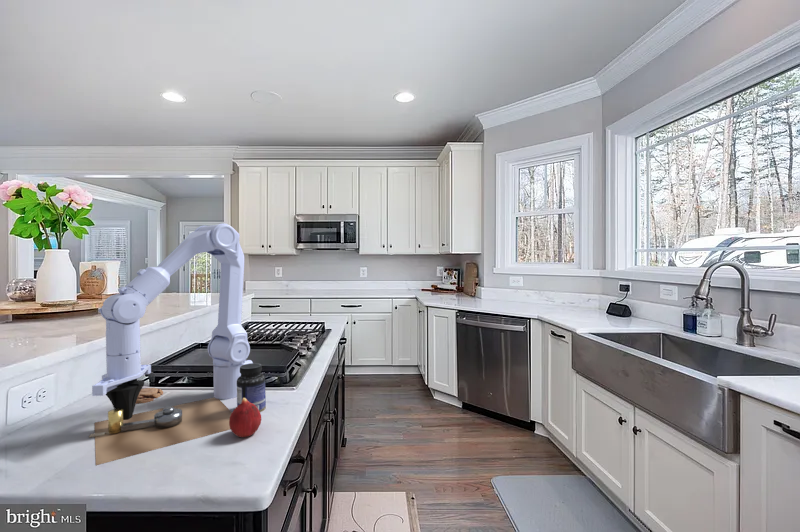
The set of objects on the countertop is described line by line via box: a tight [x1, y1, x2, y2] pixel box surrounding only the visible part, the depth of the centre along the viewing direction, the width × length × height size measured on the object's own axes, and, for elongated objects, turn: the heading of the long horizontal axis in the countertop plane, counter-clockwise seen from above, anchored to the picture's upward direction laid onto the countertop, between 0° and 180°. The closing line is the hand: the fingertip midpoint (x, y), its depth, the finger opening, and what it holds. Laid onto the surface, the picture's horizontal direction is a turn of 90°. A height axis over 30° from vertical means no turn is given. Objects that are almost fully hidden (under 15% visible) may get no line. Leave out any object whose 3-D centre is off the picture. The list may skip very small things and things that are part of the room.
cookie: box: [135, 387, 164, 405], centre depth 96 cm, size 10×11×3 cm
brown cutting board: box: [88, 396, 233, 466], centre depth 80 cm, size 25×22×1 cm
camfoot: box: [107, 406, 182, 434], centre depth 79 cm, size 13×5×4 cm, turn 114°
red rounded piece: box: [229, 398, 262, 438], centre depth 75 cm, size 6×6×8 cm
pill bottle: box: [236, 362, 267, 413], centre depth 88 cm, size 6×6×11 cm
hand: (125, 418), depth 79 cm, fingers closed
